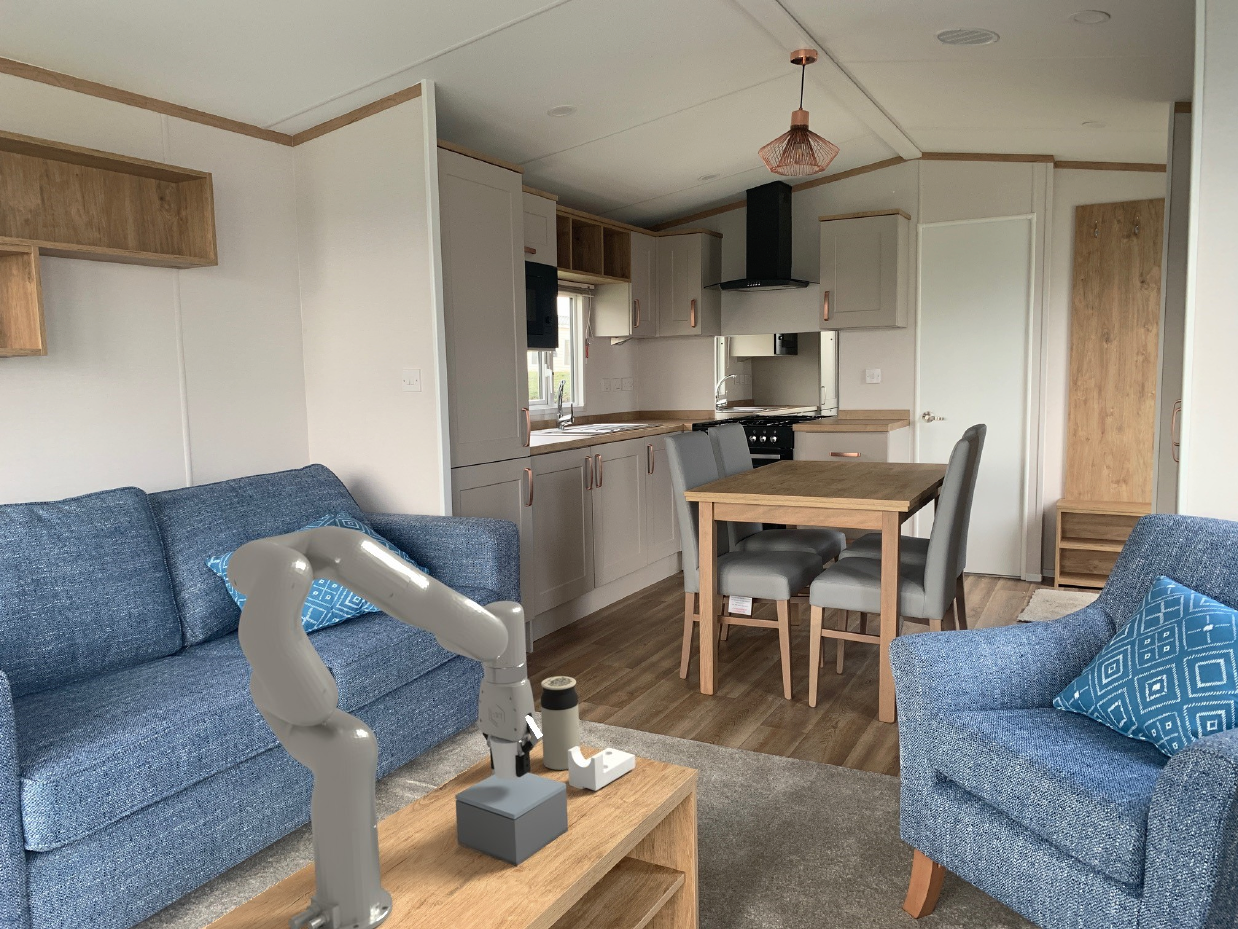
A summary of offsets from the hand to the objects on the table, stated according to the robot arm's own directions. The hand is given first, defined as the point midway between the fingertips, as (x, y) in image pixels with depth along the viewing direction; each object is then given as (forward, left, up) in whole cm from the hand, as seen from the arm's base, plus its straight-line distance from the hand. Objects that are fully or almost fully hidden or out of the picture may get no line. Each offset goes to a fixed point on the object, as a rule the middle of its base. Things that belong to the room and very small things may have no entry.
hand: (510, 769), depth 156 cm
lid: (0, 0, -5) cm, 4 cm away
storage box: (0, 0, -13) cm, 13 cm away
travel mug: (+29, +12, -13) cm, 34 cm away
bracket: (+28, 0, -13) cm, 31 cm away
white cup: (0, 0, -1) cm, 1 cm away
